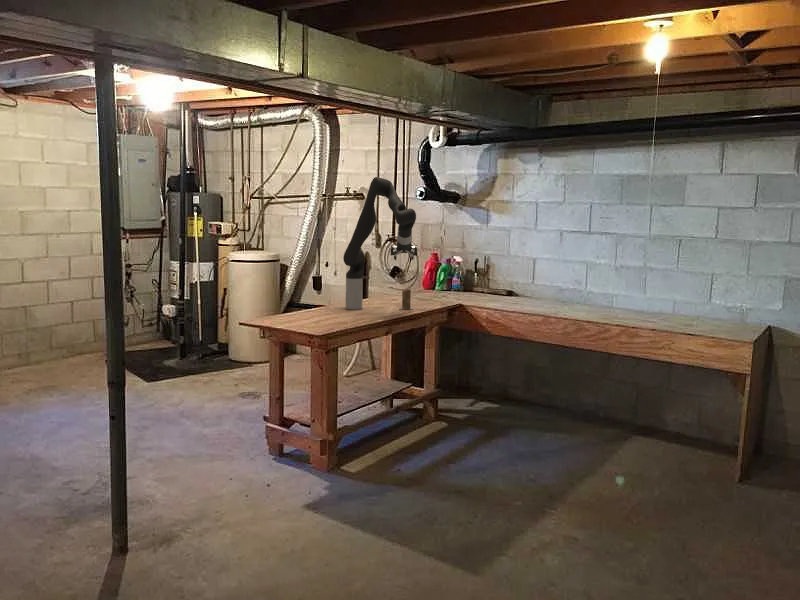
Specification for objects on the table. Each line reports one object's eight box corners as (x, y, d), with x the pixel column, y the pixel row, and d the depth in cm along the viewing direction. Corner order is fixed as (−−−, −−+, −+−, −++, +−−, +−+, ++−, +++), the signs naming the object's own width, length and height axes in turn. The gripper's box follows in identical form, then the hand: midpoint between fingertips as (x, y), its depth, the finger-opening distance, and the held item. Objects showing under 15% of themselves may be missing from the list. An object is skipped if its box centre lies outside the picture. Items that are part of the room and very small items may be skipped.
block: (402, 309, 370) (402, 290, 369) (402, 308, 375) (402, 289, 373) (410, 310, 370) (410, 290, 369) (410, 308, 375) (410, 289, 373)
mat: (399, 310, 368) (399, 310, 368) (398, 308, 376) (398, 308, 376) (413, 310, 369) (413, 310, 369) (412, 308, 377) (412, 308, 377)
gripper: (418, 233, 350) (416, 254, 363) (390, 233, 350) (390, 253, 363) (418, 244, 345) (416, 264, 358) (390, 244, 345) (390, 264, 358)
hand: (403, 259), depth 360 cm, fingers open, 8 cm apart
